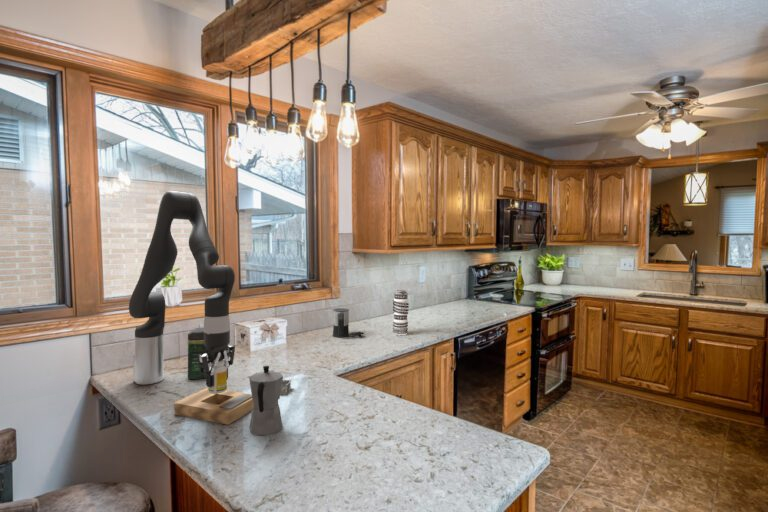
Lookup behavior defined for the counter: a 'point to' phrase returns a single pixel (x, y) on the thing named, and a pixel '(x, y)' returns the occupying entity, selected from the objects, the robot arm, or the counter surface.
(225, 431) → the counter surface
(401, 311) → the grey striped cylinder
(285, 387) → the egg carton
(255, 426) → the coffeepot
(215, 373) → the supplement bottle
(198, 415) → the jig
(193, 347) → the coffee jar
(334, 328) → the milk frother
